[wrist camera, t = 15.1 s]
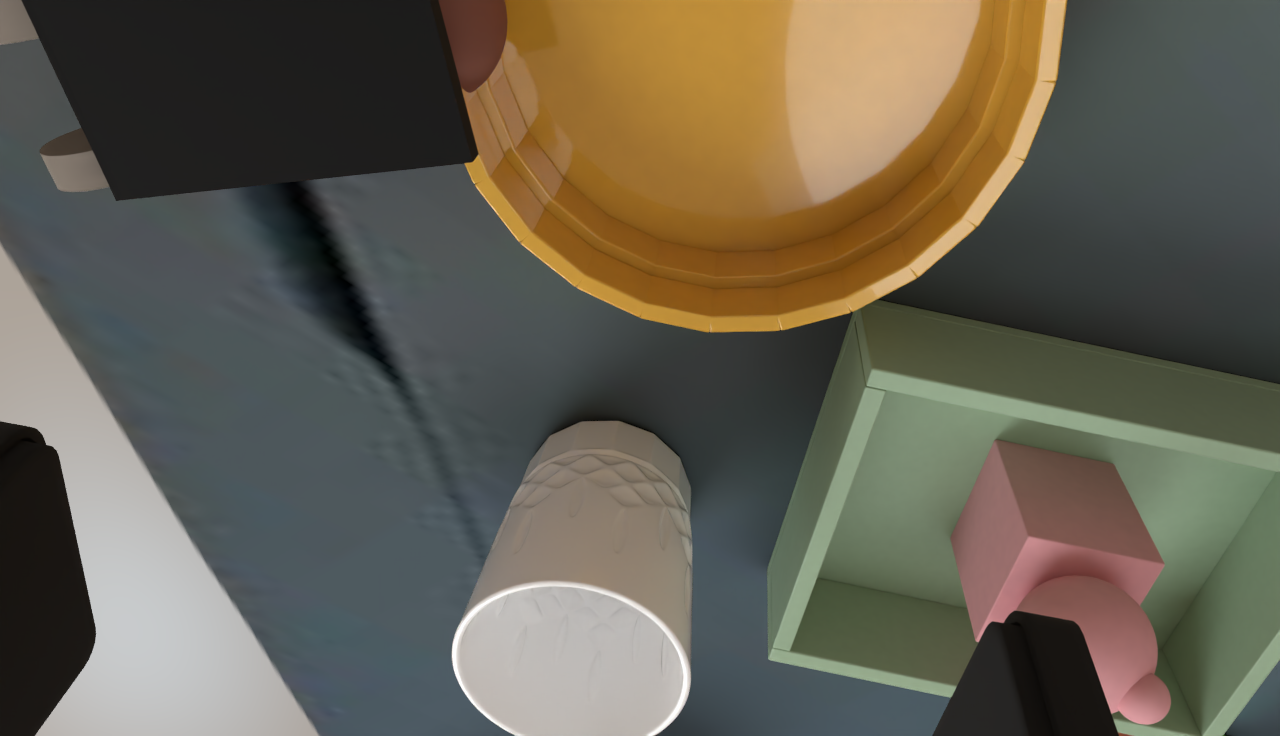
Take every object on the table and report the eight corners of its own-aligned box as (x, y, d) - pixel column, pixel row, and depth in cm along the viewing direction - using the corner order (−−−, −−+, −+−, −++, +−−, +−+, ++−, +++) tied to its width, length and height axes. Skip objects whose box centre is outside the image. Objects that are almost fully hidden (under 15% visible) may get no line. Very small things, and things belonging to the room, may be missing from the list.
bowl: (498, -370, 27) (454, -393, 23) (1125, -236, 27) (1185, -236, 23) (448, 216, 36) (410, 270, 32) (918, 315, 36) (937, 381, 32)
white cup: (642, 375, 38) (608, 548, 30) (739, 520, 42) (734, 714, 33) (477, 451, 41) (403, 630, 33) (580, 582, 44) (537, 776, 36)
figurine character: (166, 144, 37) (550, 96, 33) (16, 228, 31) (467, 181, 26) (84, -49, 33) (499, -130, 29) (-103, 0, 27) (391, -93, 23)
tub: (858, 295, 36) (872, 368, 31) (1334, 395, 36) (1413, 481, 32) (766, 569, 43) (767, 660, 38) (1165, 652, 43) (1211, 752, 39)
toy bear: (994, 438, 38) (1063, 635, 29) (1114, 463, 38) (1219, 667, 29) (946, 545, 40) (995, 754, 32) (1057, 568, 40) (1137, 783, 32)
